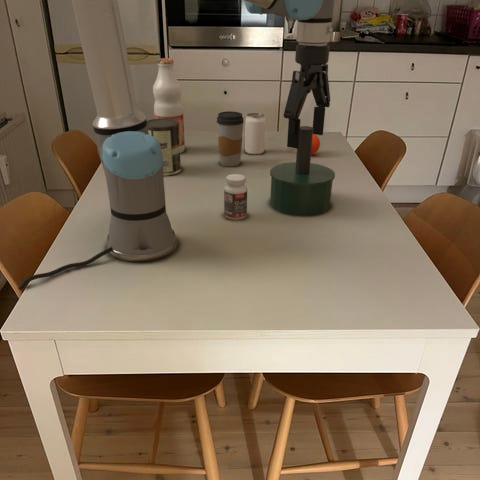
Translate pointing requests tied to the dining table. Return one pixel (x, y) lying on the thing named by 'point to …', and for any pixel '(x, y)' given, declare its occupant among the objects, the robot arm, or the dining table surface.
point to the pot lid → (303, 165)
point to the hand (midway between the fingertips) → (305, 140)
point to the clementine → (315, 144)
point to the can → (254, 133)
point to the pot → (300, 198)
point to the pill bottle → (235, 197)
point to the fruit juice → (168, 97)
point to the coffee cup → (230, 137)
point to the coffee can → (167, 143)
